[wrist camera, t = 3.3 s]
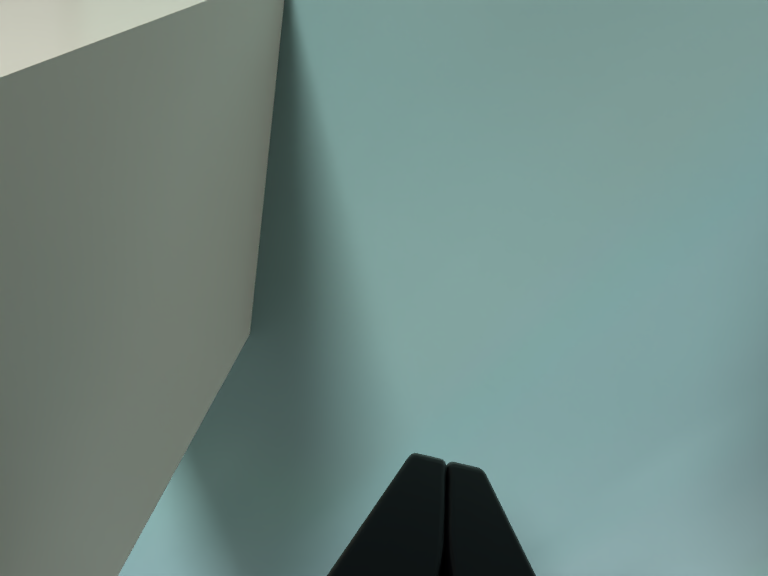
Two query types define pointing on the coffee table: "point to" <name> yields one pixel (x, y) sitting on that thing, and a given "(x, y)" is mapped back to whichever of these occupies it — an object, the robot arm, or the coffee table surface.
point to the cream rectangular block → (121, 255)
